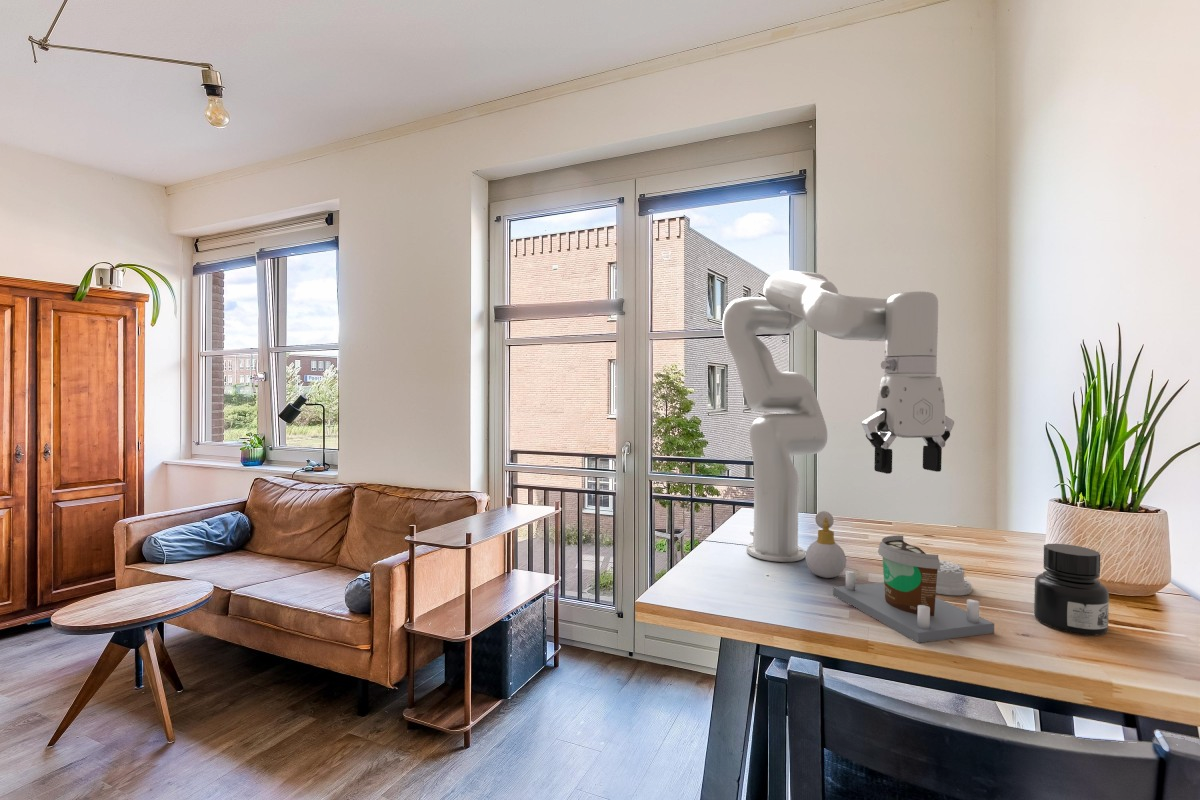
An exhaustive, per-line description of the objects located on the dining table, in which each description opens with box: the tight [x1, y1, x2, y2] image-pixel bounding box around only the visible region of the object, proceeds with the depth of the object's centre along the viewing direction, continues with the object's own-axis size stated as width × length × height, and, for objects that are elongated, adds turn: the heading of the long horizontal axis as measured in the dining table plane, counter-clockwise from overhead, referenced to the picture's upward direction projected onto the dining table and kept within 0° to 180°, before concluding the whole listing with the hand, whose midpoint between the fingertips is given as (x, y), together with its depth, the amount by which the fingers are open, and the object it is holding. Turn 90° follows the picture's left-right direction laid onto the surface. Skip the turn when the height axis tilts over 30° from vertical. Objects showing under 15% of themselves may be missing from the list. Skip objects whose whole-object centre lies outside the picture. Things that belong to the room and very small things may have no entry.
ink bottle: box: [1033, 543, 1110, 636], centre depth 86 cm, size 10×9×12 cm
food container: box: [877, 535, 940, 616], centre depth 91 cm, size 12×6×10 cm, turn 176°
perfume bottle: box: [805, 510, 847, 579], centre depth 110 cm, size 8×10×12 cm
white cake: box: [936, 559, 973, 596], centre depth 103 cm, size 10×4×10 cm
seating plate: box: [832, 570, 995, 644], centre depth 91 cm, size 19×14×4 cm
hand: (907, 471), depth 91 cm, fingers open, 9 cm apart
